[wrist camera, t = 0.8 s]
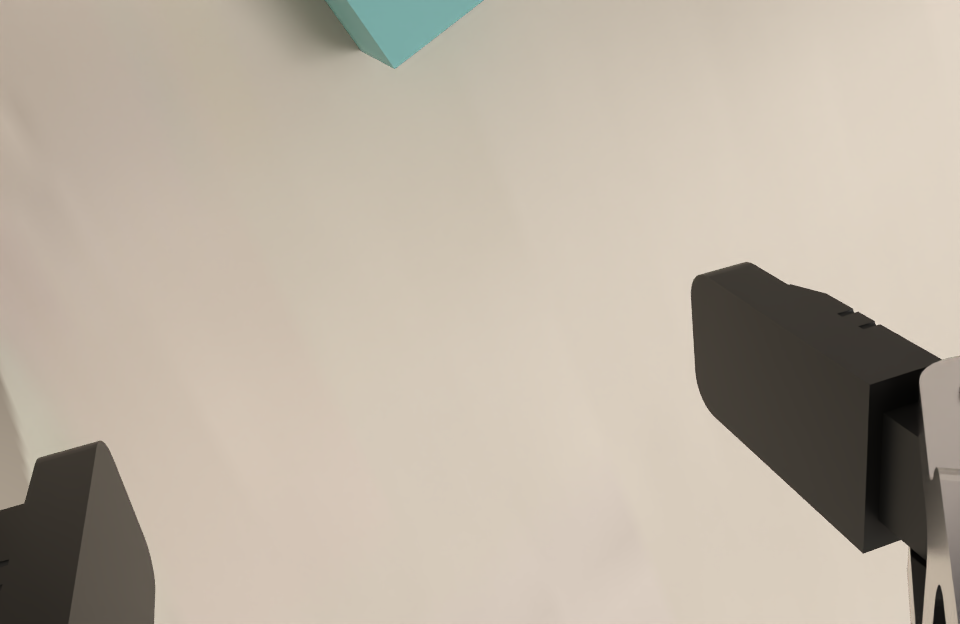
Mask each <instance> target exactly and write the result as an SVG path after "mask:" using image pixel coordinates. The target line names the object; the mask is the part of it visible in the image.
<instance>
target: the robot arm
mask: <svg viewBox="0 0 960 624" xmlns="http://www.w3.org/2000/svg"><path fill="white" fill-rule="evenodd" d="M691 304H692V321H693V338H694V355H695V372H696V379H697V384H698V388H699V391H700V394H701V396H702V399H703V401H704V403H705V405H706V406H707V408H708V409H709V411H710V412H711V413H712V415H713V416H714V417H715V418H716V419H718V420H719V421H720V422H721V423H722V424H723V425H724V426H725V427H726V428H727V429H728V430H730V431H731V432H732V433H733V434H734V435H735V436H736V437H737V438H738V439H739V440H740V441H742V442H743V443H744V444H745V445H746V446H747V447H748V448H749V449H750V450H751V451H752V452H753V453H755V454H756V455H757V456H758V457H759V458H760V459H761V460H762V461H763V462H764V463H765V464H767V465H768V466H769V467H770V468H771V469H772V470H773V471H774V472H775V473H776V474H777V475H778V476H780V477H781V478H782V479H783V480H784V481H785V482H786V483H787V484H788V485H789V486H790V487H792V488H793V489H794V490H795V491H796V492H797V493H798V494H799V495H800V496H801V497H802V498H803V499H805V500H806V501H807V502H808V503H809V504H810V505H811V506H812V507H813V508H814V509H815V510H817V511H818V512H819V513H820V514H821V515H822V516H823V517H824V518H825V519H826V520H827V521H828V522H830V523H831V524H832V525H833V526H834V527H835V528H836V529H837V530H838V531H839V532H840V533H842V534H843V535H844V536H845V537H846V538H847V539H848V540H849V541H850V542H851V543H852V544H853V545H855V546H856V547H857V548H858V549H859V550H860V551H861V552H862V553H866V552H869V551H872V550H874V549H877V548H880V547H883V546H885V545H888V544H891V543H894V542H896V541H899V540H902V541H903V542H905V543H906V544H907V545H908V546H909V549H908V565H907V577H908V591H909V606H910V621H911V624H960V356H956V357H951V358H947V359H943V360H942V359H940V358H938V357H936V356H935V355H933V354H931V353H929V352H928V351H926V350H924V349H922V348H921V347H919V346H917V345H915V344H914V343H912V342H910V341H908V340H907V339H905V338H903V337H901V336H900V335H898V334H896V333H894V332H893V331H891V330H889V329H887V328H886V327H884V326H882V325H877V326H876V325H875V321H873V320H872V319H870V318H868V317H866V316H865V315H863V314H861V313H859V312H856V313H854V311H853V309H852V308H851V307H849V306H847V305H845V304H844V303H842V302H840V301H838V300H837V299H835V298H833V297H831V296H830V295H828V294H825V293H822V292H818V291H814V290H810V289H806V288H803V287H799V286H795V285H791V284H790V285H788V284H786V283H784V282H783V281H781V280H779V279H778V278H776V277H774V276H772V275H771V274H769V273H767V272H766V271H764V270H762V269H761V268H759V267H757V266H756V265H754V264H752V263H749V262H744V263H740V264H737V265H733V266H730V267H726V268H722V269H719V270H715V271H712V272H708V273H704V274H701V275H698V276H696V278H695V279H694V281H693V283H692V288H691ZM154 607H155V579H154V572H153V566H152V561H151V557H150V553H149V550H148V546H147V543H146V540H145V538H144V535H143V533H142V530H141V528H140V525H139V523H138V520H137V518H136V515H135V512H134V510H133V507H132V505H131V502H130V500H129V497H128V495H127V492H126V490H125V487H124V485H123V482H122V480H121V477H120V475H119V472H118V470H117V467H116V464H115V462H114V459H113V457H112V455H111V453H110V451H109V449H108V447H107V446H106V444H105V443H104V442H103V441H97V442H94V443H90V444H87V445H83V446H80V447H76V448H72V449H69V450H65V451H62V452H58V453H54V454H51V455H47V456H44V457H40V458H38V459H37V460H36V463H35V466H34V470H33V474H32V477H31V481H30V485H29V488H28V492H27V496H26V500H25V503H24V504H21V505H18V506H14V507H10V508H7V509H4V510H0V624H154Z"/></svg>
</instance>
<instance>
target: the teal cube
mask: <svg viewBox="0 0 960 624" xmlns="http://www.w3.org/2000/svg"><path fill="white" fill-rule="evenodd" d="M325 1H326V2H327V4H328V5H329V7H330V8H331V9H332V11H333V12H334V14H335V15H336V16H337V18H338V19H339V21H340V22H341V23H342V25H343V26H344V28H345V29H346V31H347V32H348V33H349V35H350V36H351V38H352V39H353V40H354V42H355V43H356V45H357V46H358V47H359V49H360V50H361V51H362V52H364V53H366V54H368V55H370V56H371V57H373V58H375V59H377V60H379V61H381V62H383V63H384V64H386V65H388V66H390V67H392V68H394V69H395V68H397V67H398V66H399V65H401V64H402V63H403V62H404V61H406V60H407V59H408V58H410V57H411V56H412V55H414V54H415V53H416V52H417V51H419V50H420V49H421V48H423V47H424V46H425V45H426V44H428V43H429V42H430V41H432V40H433V39H434V38H436V37H437V36H438V35H439V34H441V33H442V32H443V31H445V30H446V29H447V28H448V27H450V26H451V25H452V24H454V23H455V22H456V21H458V20H459V19H460V18H461V17H463V16H464V15H465V14H467V13H468V12H469V11H470V10H472V9H473V8H474V7H476V6H477V5H478V4H479V3H481V2H482V1H483V0H325Z"/></svg>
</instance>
